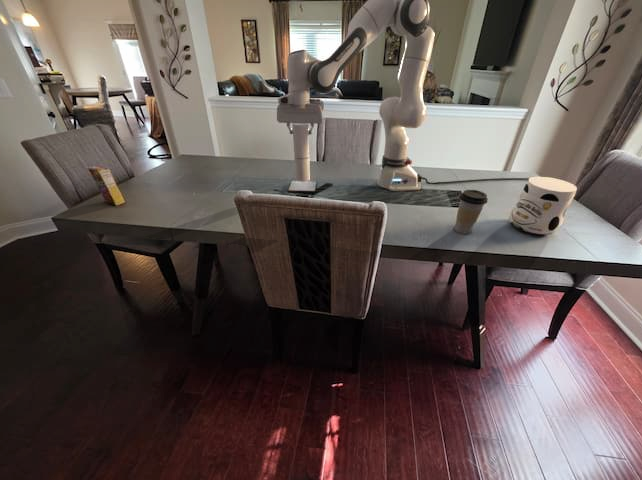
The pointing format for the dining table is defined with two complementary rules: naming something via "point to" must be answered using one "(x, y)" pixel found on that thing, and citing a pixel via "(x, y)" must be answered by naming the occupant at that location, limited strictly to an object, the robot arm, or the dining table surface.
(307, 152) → the cylindrical container
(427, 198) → the dining table surface
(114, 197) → the candy box
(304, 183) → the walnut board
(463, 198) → the coffee cup
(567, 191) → the milk container
